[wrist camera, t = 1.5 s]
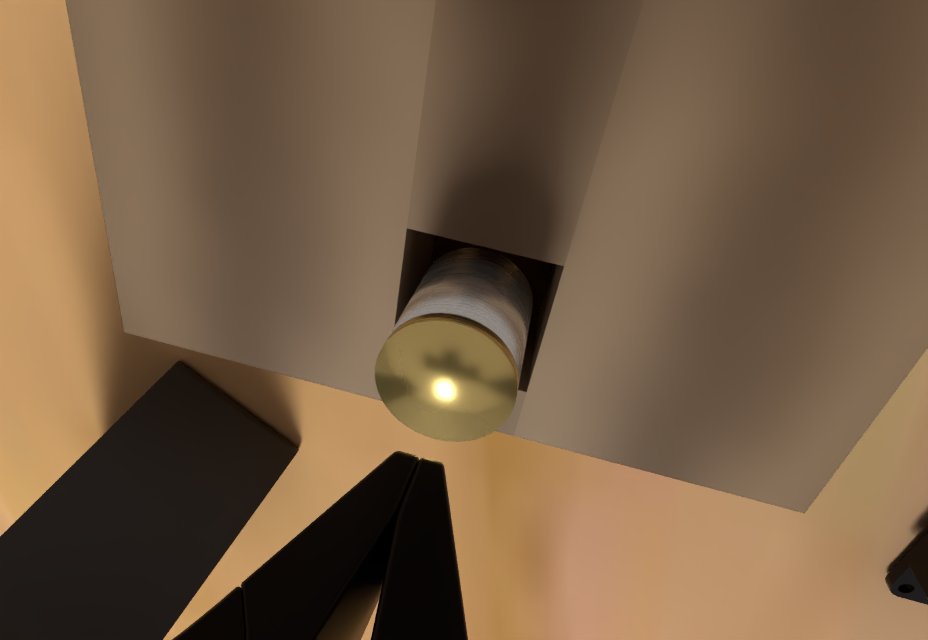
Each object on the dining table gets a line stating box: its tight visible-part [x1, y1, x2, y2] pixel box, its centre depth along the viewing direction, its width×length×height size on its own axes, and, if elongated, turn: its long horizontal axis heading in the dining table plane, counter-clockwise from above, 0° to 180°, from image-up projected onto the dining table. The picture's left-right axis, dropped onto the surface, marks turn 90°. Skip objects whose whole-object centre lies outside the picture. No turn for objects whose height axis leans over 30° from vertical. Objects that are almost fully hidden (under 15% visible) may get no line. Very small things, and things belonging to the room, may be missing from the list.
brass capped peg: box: [375, 247, 533, 442], centre depth 13 cm, size 3×3×4 cm
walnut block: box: [66, 0, 928, 513], centre depth 13 cm, size 20×17×4 cm
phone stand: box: [0, 361, 299, 640], centre depth 20 cm, size 9×6×12 cm, turn 139°
